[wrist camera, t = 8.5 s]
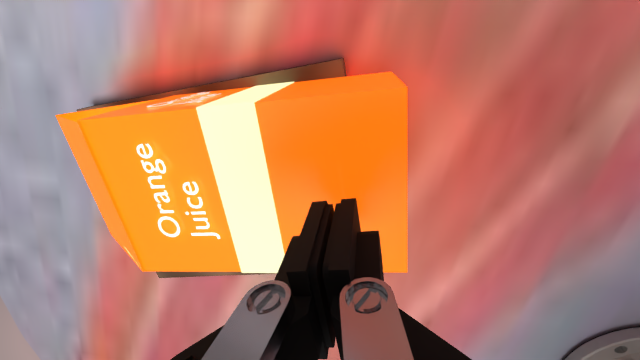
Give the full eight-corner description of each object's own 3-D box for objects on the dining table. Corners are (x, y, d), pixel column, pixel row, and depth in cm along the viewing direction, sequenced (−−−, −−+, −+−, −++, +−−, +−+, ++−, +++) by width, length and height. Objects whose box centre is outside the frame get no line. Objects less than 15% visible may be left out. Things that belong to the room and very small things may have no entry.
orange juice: (393, 200, 21) (147, 209, 25) (391, 69, 18) (105, 101, 21) (407, 276, 14) (60, 274, 18) (408, 85, 11) (-25, 129, 14)
